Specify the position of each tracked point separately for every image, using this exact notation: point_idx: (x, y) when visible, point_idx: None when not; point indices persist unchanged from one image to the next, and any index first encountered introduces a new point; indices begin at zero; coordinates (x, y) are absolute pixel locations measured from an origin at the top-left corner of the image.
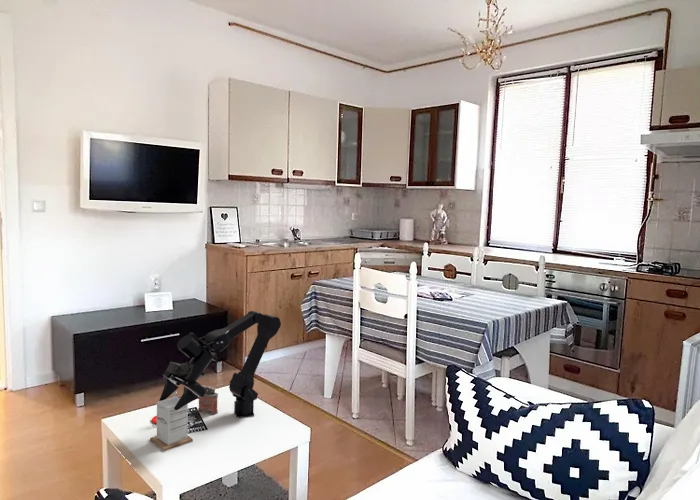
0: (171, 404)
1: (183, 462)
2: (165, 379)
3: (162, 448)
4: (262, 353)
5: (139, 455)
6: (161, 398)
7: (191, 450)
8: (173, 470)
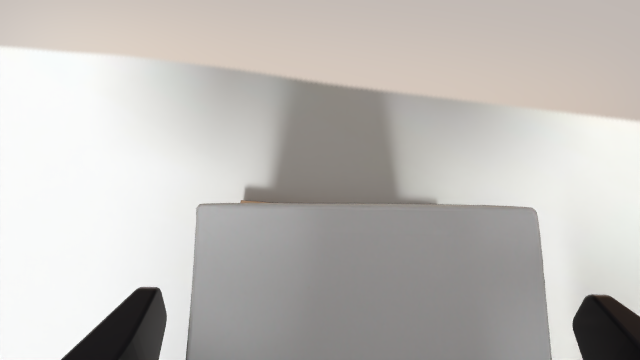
0: (282, 320)
1: (37, 211)
2: None
3: (263, 202)
4: None
5: (306, 84)
6: (610, 325)
7: None
8: (12, 125)
